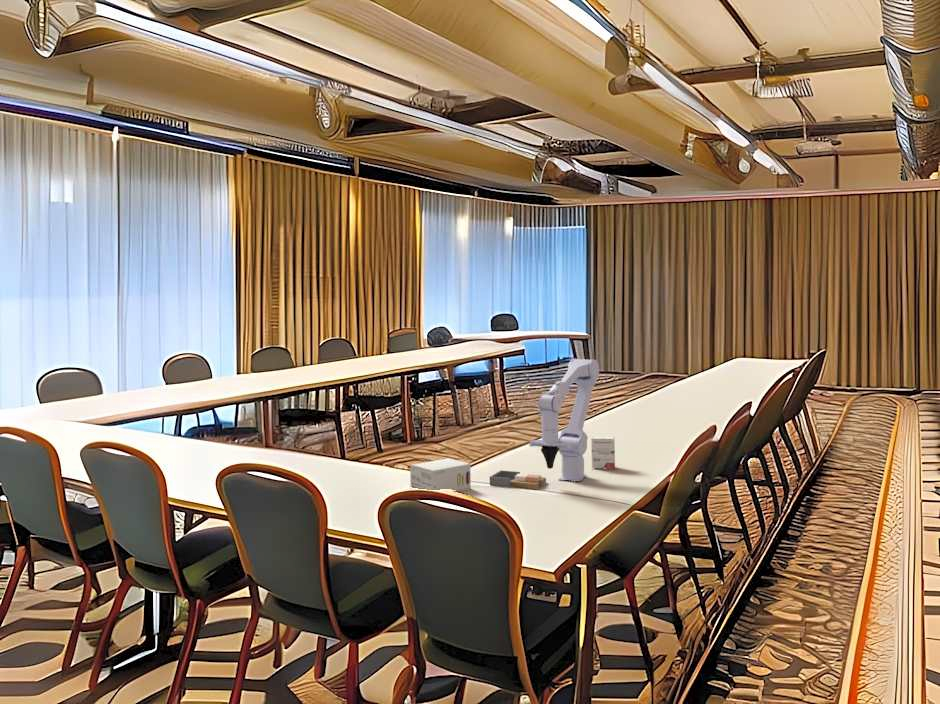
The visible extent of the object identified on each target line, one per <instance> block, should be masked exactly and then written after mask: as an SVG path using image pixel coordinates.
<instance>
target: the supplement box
mask: <svg viewBox="0 0 940 704" xmlns="http://www.w3.org/2000/svg"><path fill="white" fill-rule="evenodd" d="M409 477H410V488H411V487H412V488H418V489H427V490H440V489H452V490H456V491H459V492H462V491H463V492H464V491H467V489H468V490H471V489H472V488H471V481H472V479H471V477H472V476H471V463H469V462H466V461H461V460H457V459H453V458H448V457H447V458H442V459H436V460H430V461H426V462H420V463H419V462H418V463H414V464H413V463H412V464H410V476H409Z"/></svg>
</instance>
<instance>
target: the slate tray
mask: <svg viewBox="0 0 940 704" xmlns="http://www.w3.org/2000/svg"><path fill="white" fill-rule="evenodd" d="M517 474H521V471H511V470H499V471H498V472H497V471H496V473H493V474H491V475H490V476H489V485H490V486H495V487H505V488H506V487H507V488H511V487H510V481H512V480H513V479H515V476H516V475H517Z"/></svg>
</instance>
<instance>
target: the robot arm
mask: <svg viewBox="0 0 940 704" xmlns="http://www.w3.org/2000/svg"><path fill="white" fill-rule="evenodd" d="M567 364H568V365H567V371H566V372H565V374H564V376H563V377H562V379H561V380H557V381H555V383H554V384H553V386H552V387H551V388H550V389H549V391H547V393H546V394H542V395H540V397H539V399H538V402H537V406H538V409H539V414H540V417H541V439H531V440H529V447H538V448H539V447H540V448H541V449H540V451H541V453H542V455H543V457H544V460H545V463H546V467H547V469H553V468H554V463H555V459H556V457H557V454H558V453H559V454H560V455H561V476H560V477H558V479H557V480H558V481H564V480H569V481H568V482H576V481H580V480H581V481H582V480H584V479H585V478H586V477H587V474H585V458H584V456H583V455H584V454H585V453H586V451H587V449H588V435H587V434H586V432H585V431H584V430H583V428H584V424H585V421H586V417H587V413H588V409H589V405H590V402H591V398H592V394H593V390H594V386H595V385H596V384H597V382H598V378H599V374H600V366H599V363H598V360H597V359H584V358H583V359H582V358H576V357H575V358H571V359H570V361H569V362H568V363H567ZM574 383H575V384H576V385H578V389H577V392H576V395H575V399H574V402H573V407H572V412H571V414H570V419H569V423H568V426H567V427H565V428H563V429H562V430H561V432H560V434H559V412H560V410H561V409H562V406H563V405H562V404H563V402H564V399H565V398H566V397H567V395H568V394H569V393H570V387H571V386H572V385H573V384H574ZM584 477H585V478H584ZM583 478H584V479H583ZM570 480H571V481H570ZM581 481H580V482H581Z"/></svg>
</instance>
